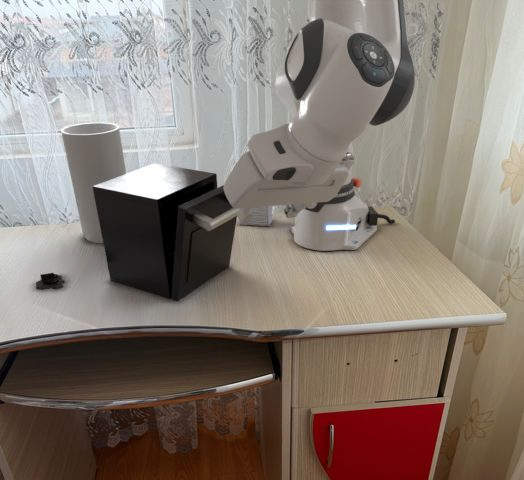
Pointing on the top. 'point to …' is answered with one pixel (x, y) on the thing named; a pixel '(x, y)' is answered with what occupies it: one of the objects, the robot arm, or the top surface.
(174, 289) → the oven door
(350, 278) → the top surface
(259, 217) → the medicine box
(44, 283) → the black irregular piece
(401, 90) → the robot arm
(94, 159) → the cylinder vase
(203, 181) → the oven
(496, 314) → the top surface
